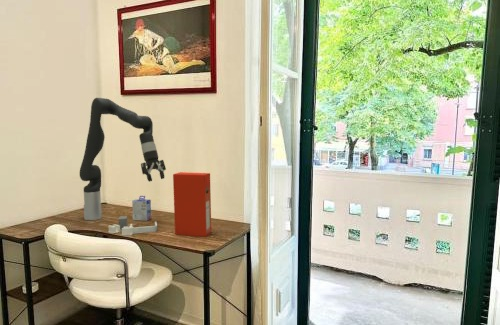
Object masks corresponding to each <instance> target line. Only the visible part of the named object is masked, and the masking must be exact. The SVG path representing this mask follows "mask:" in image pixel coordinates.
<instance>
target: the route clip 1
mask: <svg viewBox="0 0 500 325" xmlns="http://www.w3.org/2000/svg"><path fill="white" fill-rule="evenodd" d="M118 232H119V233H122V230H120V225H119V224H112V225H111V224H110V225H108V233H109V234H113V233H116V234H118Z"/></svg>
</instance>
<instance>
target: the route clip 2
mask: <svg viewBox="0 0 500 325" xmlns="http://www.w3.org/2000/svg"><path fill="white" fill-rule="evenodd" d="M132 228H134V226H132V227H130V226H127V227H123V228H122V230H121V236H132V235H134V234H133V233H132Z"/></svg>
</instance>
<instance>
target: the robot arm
mask: <svg viewBox="0 0 500 325" xmlns="http://www.w3.org/2000/svg"><path fill="white" fill-rule="evenodd" d="M90 106H91V107H90V116H89V117H90V121H89V128H88V133H87V137H86V143H85V144H86V145H85V150H84V154H83V158H82V162H81V165H80V167H79V178H80V180H82V182H89V183H88V184H87V185H85V186H84V187H83V200H84V202H83V215H84V216H83V218H84V221H95V220H100V219H102V201H101V200H102V199H101V187H102V170H101V168H100V166H99V165H97V164H94V162H95V160H96V158H97V157H98V154H100V153H101V151H102V149H103V147H104V143H105V138H106V137H105V132H104V130H103V128H102V127H103V126H102V125H101V124H102V123H101V121H102V120H101V118H102V115H112V116H116V117H117V118H118V119H119V120H120V121H122V122H125V123H127V124H129V125H131V126H132V127H133V128H135V129H139V130H140V129H141V130H143V131H142V133H140V134H139V136H138V137H139V141H140V145H141V151H142V155H143V159H144V161H145V162H141V163H140V167H141V168H140V169H141V172H142V175H146V179H147V181H148V182H150V183H151V182H153V177H152V174H151V173H152V170H156V171H158V173H159V178H160V179H161V180H163V179H165V171H166V170H167V168H166V165H165V162H164V159H161V160H159V154H158V150H157V145H156V143H155V140H154V136H153V135H154V134H153V129H154V128H153V127H154V126H153V120H152V119H151V116H147V115H138V113H136V112H135V111H133V110H129V109H127V108H125V107H123V106H120V105H118V104H117V103H116V102H114V101H113V100H112V99H109V98H104V97H103V98H102V97H95V98H94V99H93V100H92V102H91V105H90Z"/></svg>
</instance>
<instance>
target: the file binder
mask: <svg viewBox="0 0 500 325" xmlns="http://www.w3.org/2000/svg"><path fill="white" fill-rule="evenodd" d="M172 179H173V180H172V182H173V183H172V184H173V213H174V217H173V218H174V234H175V235H178V236H190V237H200V236H201V237H202V238H207V237H208V236H209V235H210V234H211V233H212V205H211V204H212V202H211V173H210V172H185V171H184V172H183V171H182V172H181V171H180V172H176V173H173V174H172Z"/></svg>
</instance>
